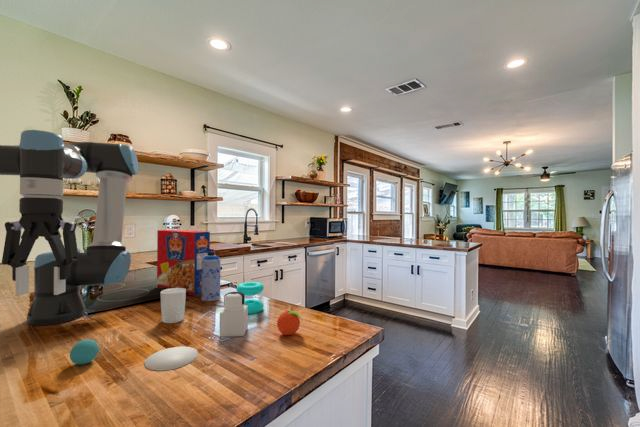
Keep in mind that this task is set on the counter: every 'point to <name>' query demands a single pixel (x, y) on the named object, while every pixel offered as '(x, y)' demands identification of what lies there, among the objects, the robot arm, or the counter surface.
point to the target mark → (171, 358)
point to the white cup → (173, 304)
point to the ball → (84, 351)
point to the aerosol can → (210, 277)
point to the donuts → (251, 289)
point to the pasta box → (181, 259)
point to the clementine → (288, 322)
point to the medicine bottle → (234, 315)
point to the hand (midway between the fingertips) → (41, 293)
